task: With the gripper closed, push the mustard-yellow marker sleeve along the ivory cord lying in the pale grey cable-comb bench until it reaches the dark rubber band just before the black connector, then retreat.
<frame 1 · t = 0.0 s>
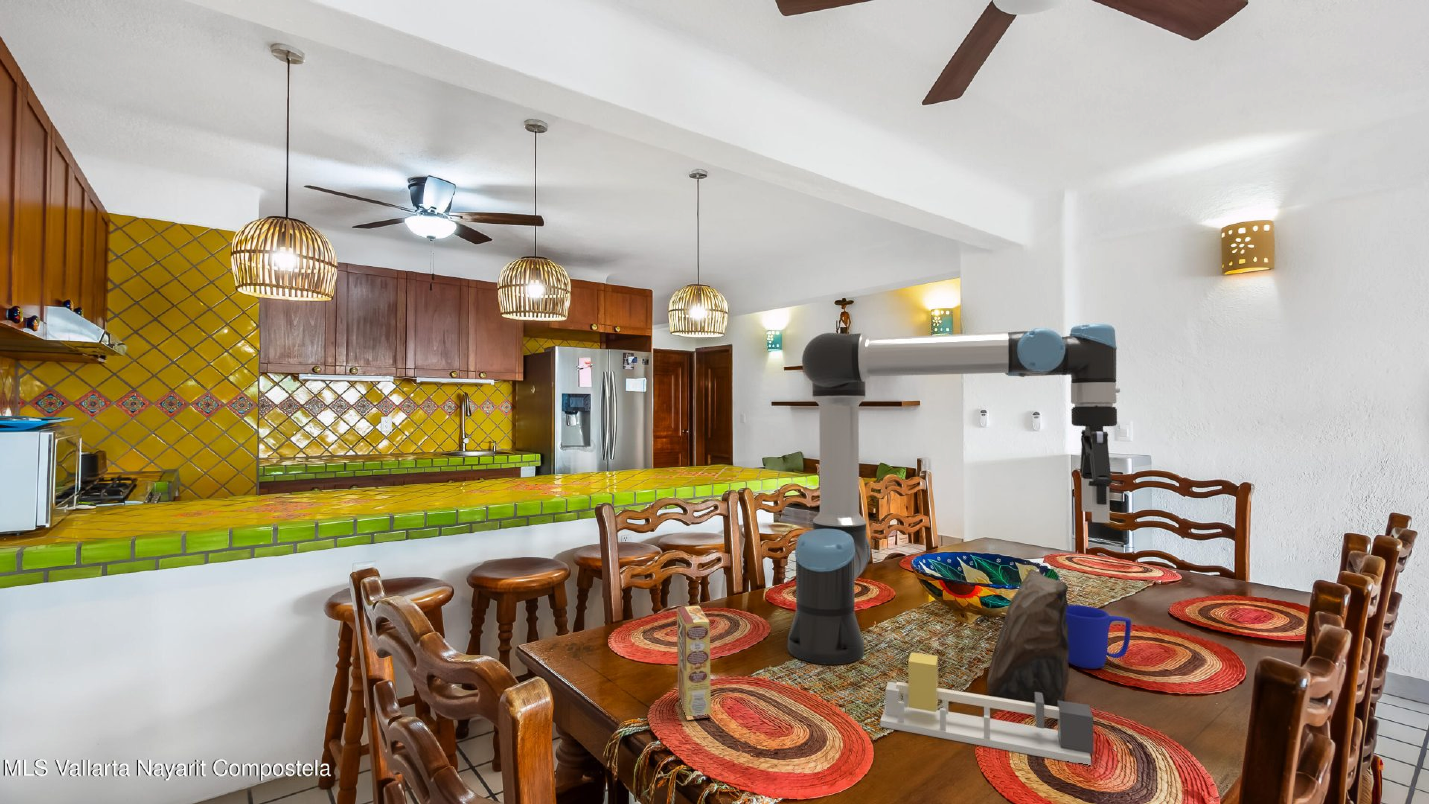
hand: (1094, 516, 123), 28 cm above the table, fingers open, 13 cm apart
brown rock: (1025, 694, 110), on the table
candy box: (693, 709, 104), on the table
mug: (1095, 665, 122), on the table
comb rail: (979, 733, 96), on the table
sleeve: (923, 681, 99), point 6 cm above the table, slide at 0.0 cm
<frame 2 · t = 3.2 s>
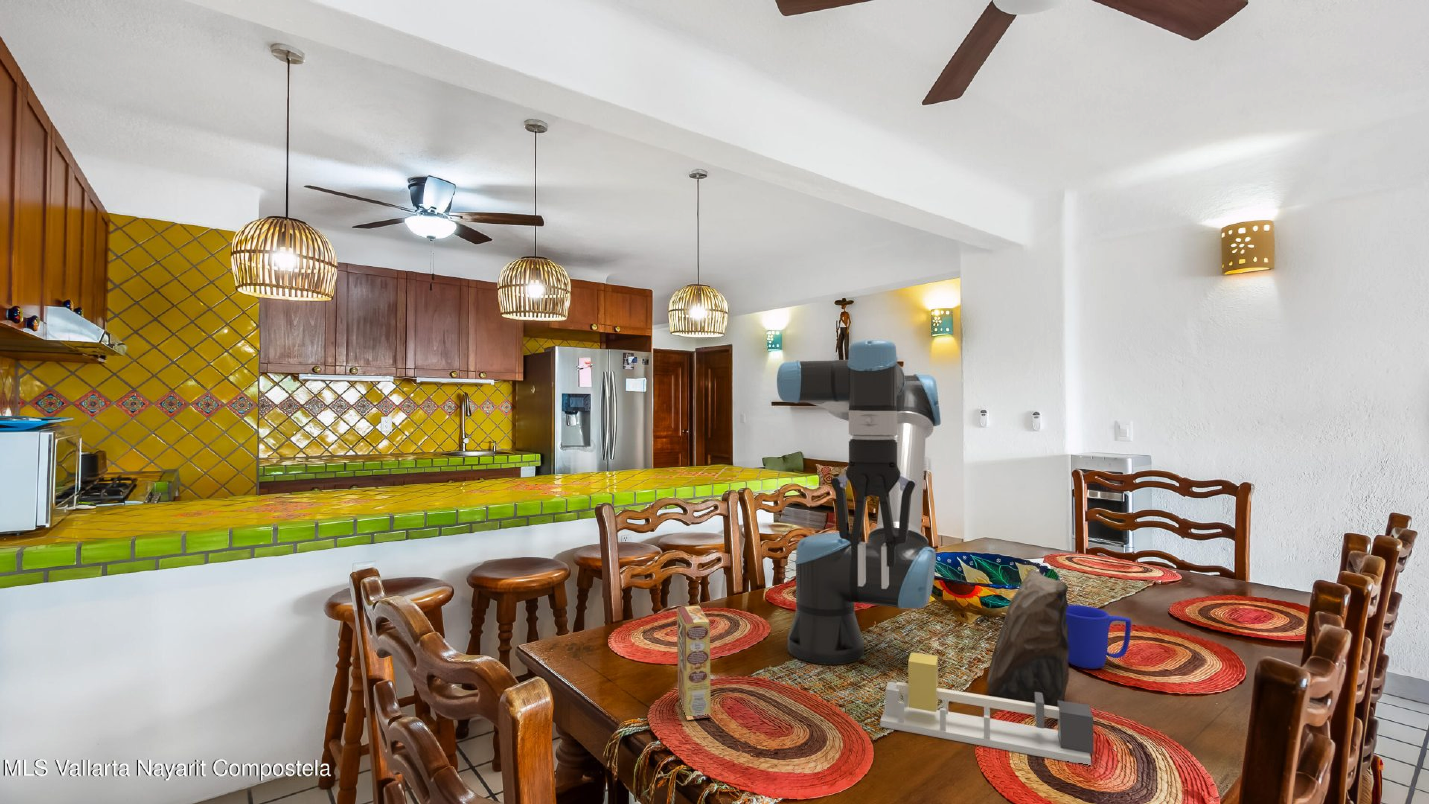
hand: (873, 585, 102), 21 cm above the table, fingers open, 3 cm apart
nothing on the table moved.
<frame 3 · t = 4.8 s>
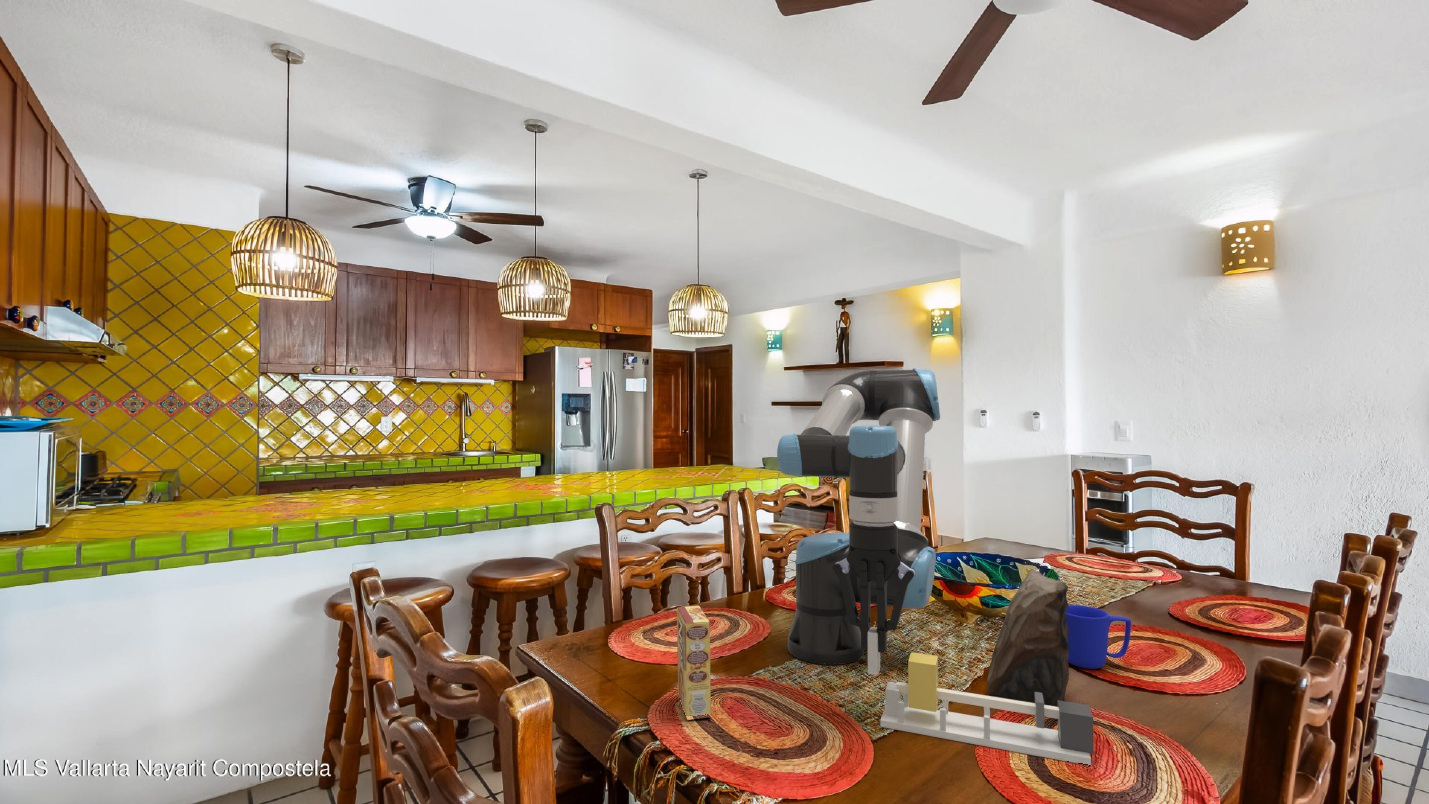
hand: (874, 671, 102), 7 cm above the table, fingers closed
nothing on the table moved.
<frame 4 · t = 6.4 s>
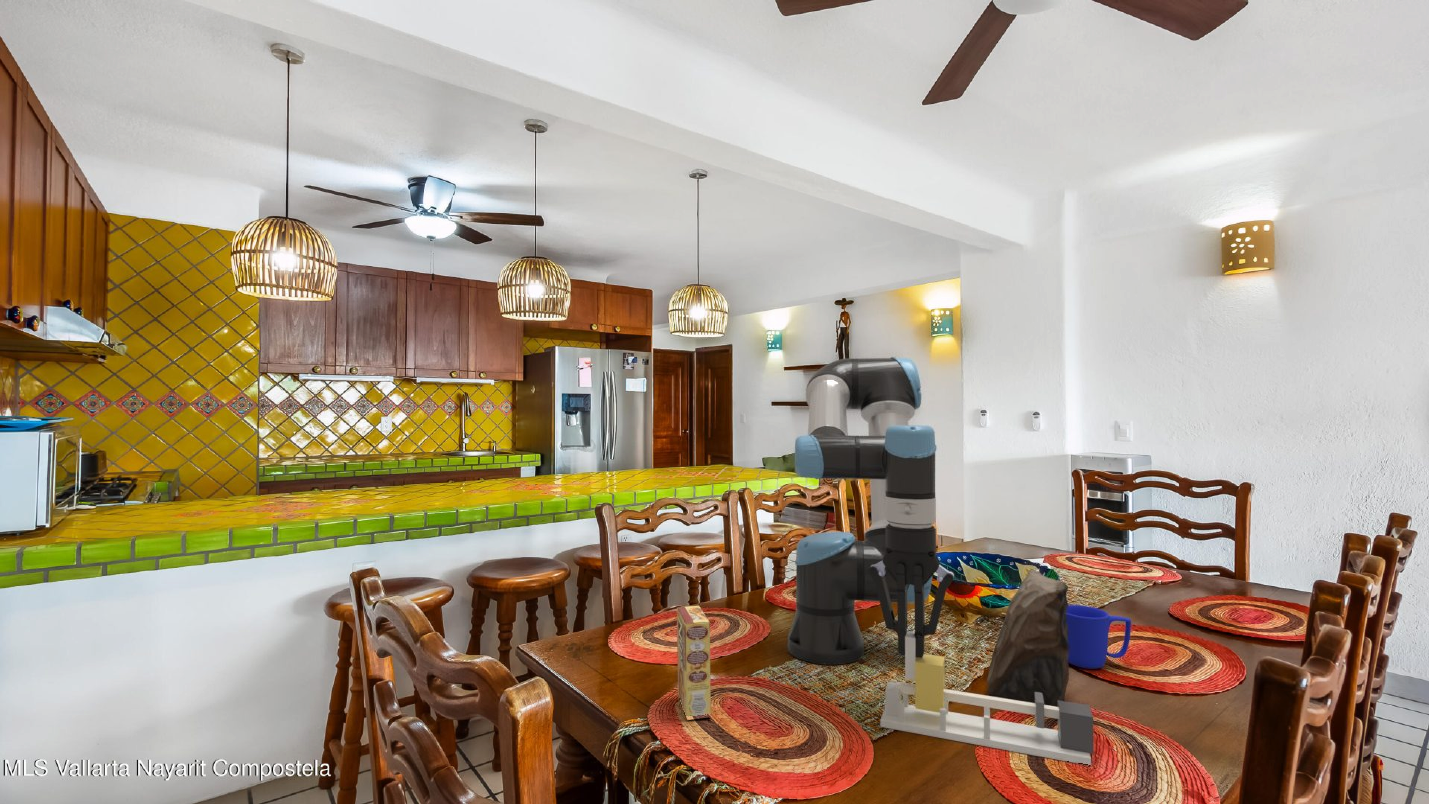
hand: (911, 676, 100), 7 cm above the table, fingers closed
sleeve: (930, 682, 99), point 6 cm above the table, slide at 1.0 cm, touching gripper
everything else where it was.
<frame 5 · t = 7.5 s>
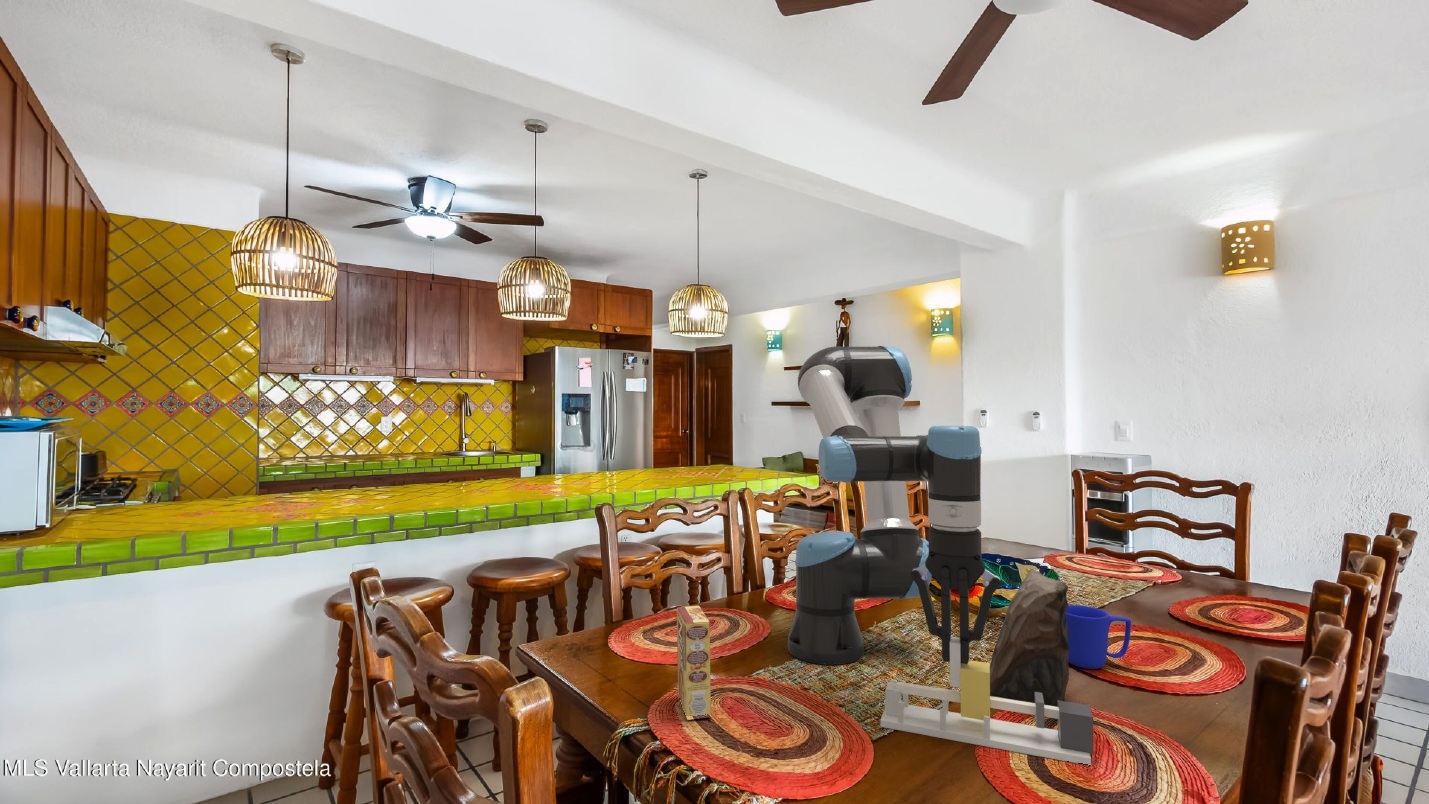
hand: (955, 683, 97), 7 cm above the table, fingers closed
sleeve: (975, 689, 96), point 6 cm above the table, slide at 7.4 cm, touching gripper
everything else where it was.
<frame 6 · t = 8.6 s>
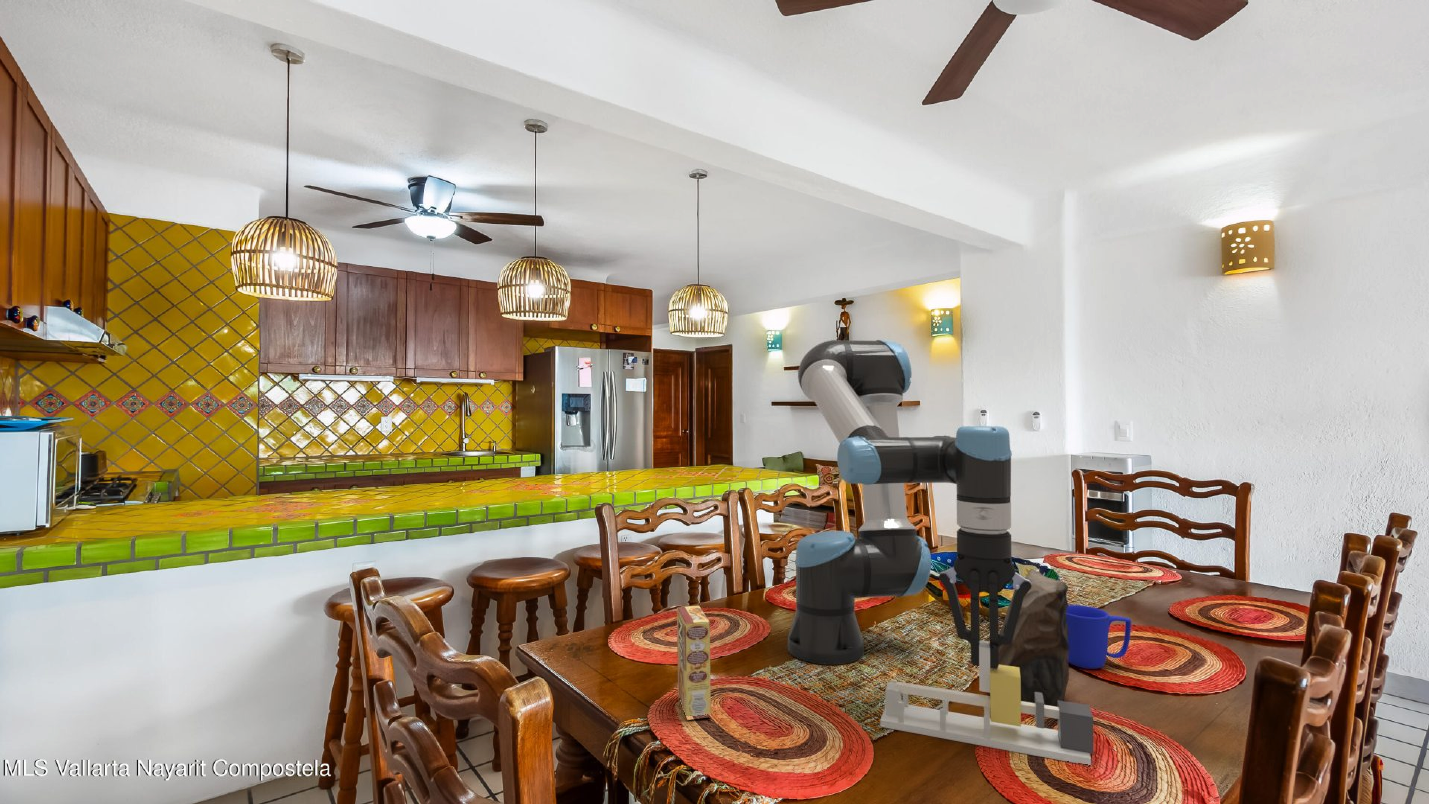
hand: (984, 688, 96), 7 cm above the table, fingers closed
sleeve: (1005, 694, 95), point 6 cm above the table, slide at 11.5 cm, touching gripper
everything else where it was.
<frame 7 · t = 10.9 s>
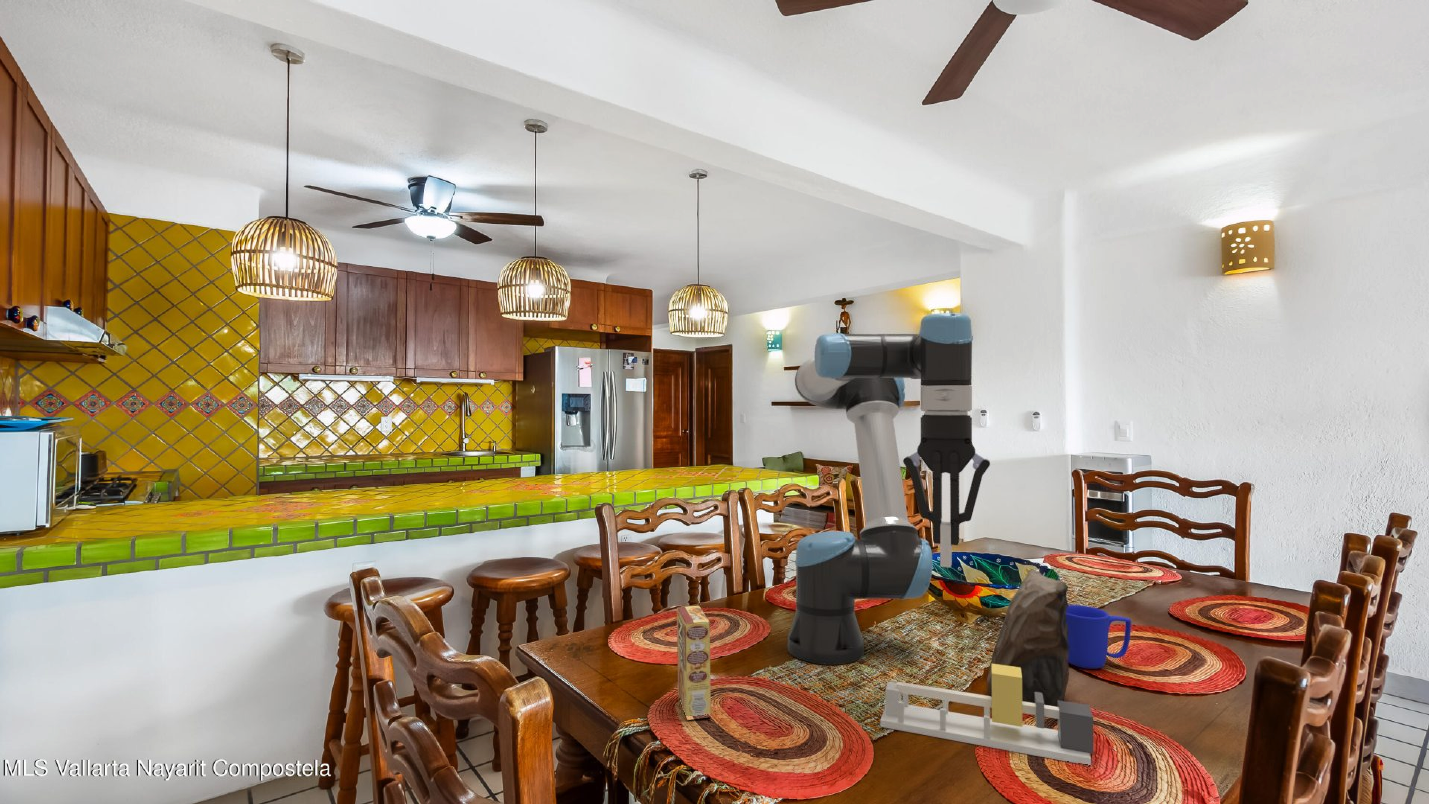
hand: (946, 564, 100), 24 cm above the table, fingers closed
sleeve: (1006, 694, 94), point 6 cm above the table, slide at 11.7 cm
everything else where it was.
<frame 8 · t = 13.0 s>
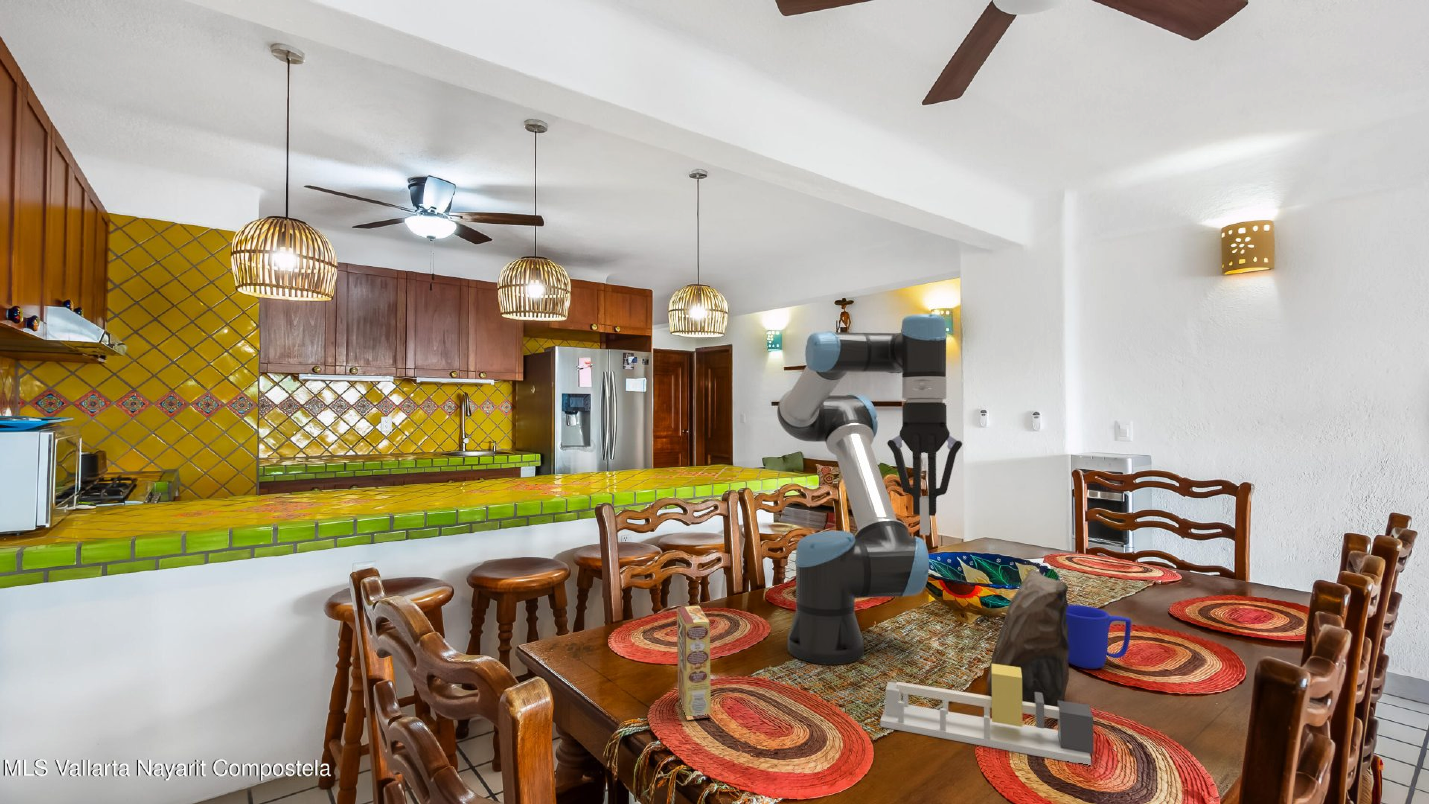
hand: (925, 533, 114), 26 cm above the table, fingers closed
nothing on the table moved.
at the end: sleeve slide at 11.7 cm; the gripper is holding nothing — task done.
